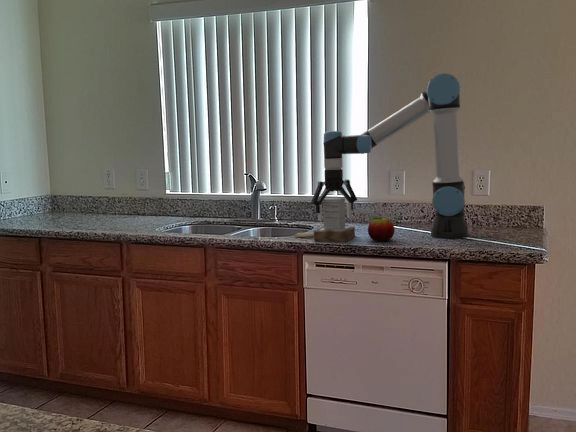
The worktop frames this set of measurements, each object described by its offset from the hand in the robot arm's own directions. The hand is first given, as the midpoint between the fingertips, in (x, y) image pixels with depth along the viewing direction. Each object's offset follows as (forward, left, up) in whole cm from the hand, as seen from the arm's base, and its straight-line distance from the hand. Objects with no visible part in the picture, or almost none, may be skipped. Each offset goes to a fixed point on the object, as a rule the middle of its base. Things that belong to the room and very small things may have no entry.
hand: (334, 219), depth 231 cm
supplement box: (0, 0, -4) cm, 4 cm away
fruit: (-14, -14, -8) cm, 21 cm away
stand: (0, 0, -8) cm, 8 cm away
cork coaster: (+12, +8, -8) cm, 17 cm away
